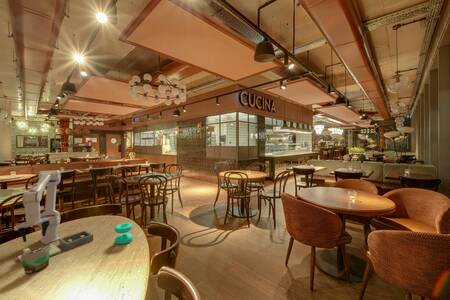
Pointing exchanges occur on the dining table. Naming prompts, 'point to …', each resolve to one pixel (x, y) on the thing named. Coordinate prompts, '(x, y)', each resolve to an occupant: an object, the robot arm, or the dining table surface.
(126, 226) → the donuts
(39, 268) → the food container
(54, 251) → the lid
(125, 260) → the dining table surface
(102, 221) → the dining table surface
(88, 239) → the tub
